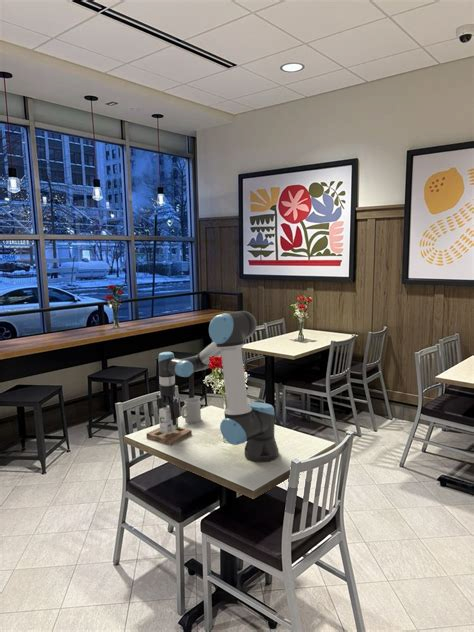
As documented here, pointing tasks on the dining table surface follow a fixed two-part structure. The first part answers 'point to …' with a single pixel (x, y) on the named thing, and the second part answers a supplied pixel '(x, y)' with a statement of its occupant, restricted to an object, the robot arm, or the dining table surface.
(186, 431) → the tray
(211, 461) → the dining table surface
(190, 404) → the mug
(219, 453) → the dining table surface
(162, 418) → the ink box
